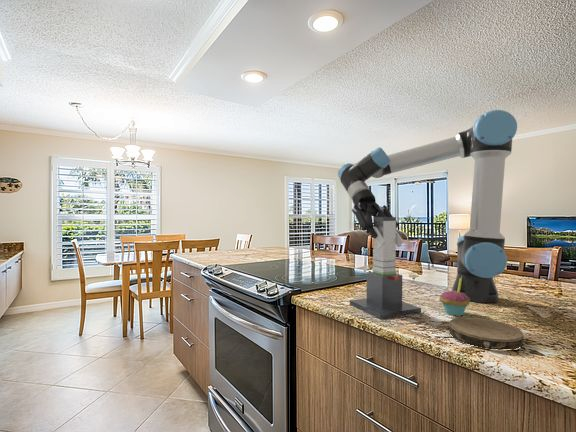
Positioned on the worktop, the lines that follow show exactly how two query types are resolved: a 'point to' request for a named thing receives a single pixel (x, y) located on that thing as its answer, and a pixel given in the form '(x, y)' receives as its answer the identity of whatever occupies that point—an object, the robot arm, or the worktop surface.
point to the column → (385, 247)
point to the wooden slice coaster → (486, 333)
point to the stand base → (384, 297)
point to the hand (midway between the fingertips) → (391, 244)
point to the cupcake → (455, 301)
